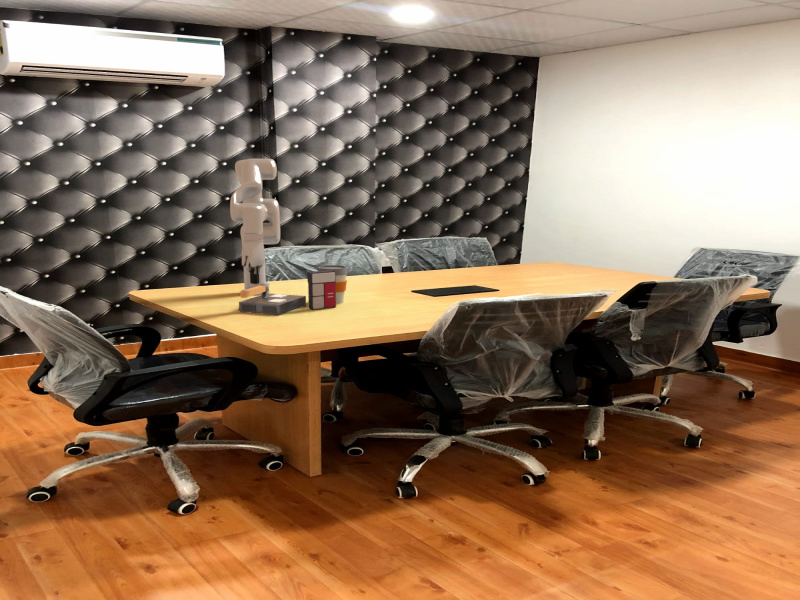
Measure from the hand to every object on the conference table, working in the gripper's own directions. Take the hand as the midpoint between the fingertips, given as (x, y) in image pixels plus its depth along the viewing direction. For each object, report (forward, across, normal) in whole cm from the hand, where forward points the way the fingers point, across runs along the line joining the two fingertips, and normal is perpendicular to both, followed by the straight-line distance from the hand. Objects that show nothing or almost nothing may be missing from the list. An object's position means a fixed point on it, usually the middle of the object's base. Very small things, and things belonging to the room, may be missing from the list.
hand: (254, 283), depth 290 cm
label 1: (+7, -12, +4) cm, 15 cm away
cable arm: (+5, -5, -3) cm, 8 cm away
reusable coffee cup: (+12, -28, +21) cm, 37 cm away
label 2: (+7, -2, +9) cm, 11 cm away
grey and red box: (+11, -14, +23) cm, 29 cm away
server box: (+11, -6, +5) cm, 13 cm away
